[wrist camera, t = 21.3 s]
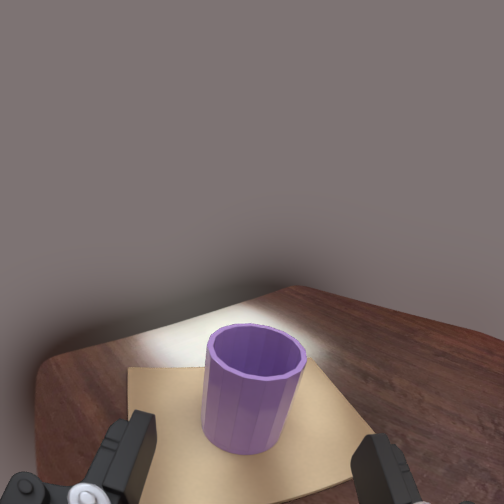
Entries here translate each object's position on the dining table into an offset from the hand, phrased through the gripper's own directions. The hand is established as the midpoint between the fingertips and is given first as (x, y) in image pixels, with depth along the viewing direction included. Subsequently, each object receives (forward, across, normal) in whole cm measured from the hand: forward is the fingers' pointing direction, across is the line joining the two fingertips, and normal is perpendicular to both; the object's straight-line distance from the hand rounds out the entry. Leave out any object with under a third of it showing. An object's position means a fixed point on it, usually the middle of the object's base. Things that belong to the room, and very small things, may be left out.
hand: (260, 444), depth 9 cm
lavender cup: (+10, 0, +10) cm, 14 cm away
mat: (+10, -1, +10) cm, 15 cm away
